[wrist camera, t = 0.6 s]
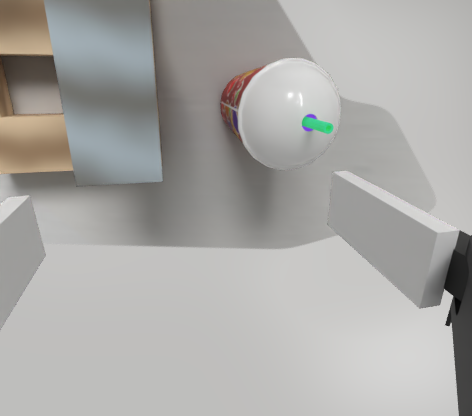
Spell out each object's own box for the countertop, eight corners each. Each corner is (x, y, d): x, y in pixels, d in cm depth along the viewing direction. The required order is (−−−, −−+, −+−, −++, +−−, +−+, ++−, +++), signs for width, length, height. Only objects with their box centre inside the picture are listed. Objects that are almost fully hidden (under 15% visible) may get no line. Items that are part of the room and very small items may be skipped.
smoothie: (213, 143, 39) (262, 201, 21) (208, 65, 36) (260, 54, 18) (282, 138, 41) (382, 187, 22) (283, 63, 38) (400, 49, 19)
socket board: (-44, -39, 29) (-171, -111, 18) (147, -26, 32) (142, -81, 21) (6, 166, 35) (-63, 207, 24) (162, 159, 39) (163, 193, 27)
